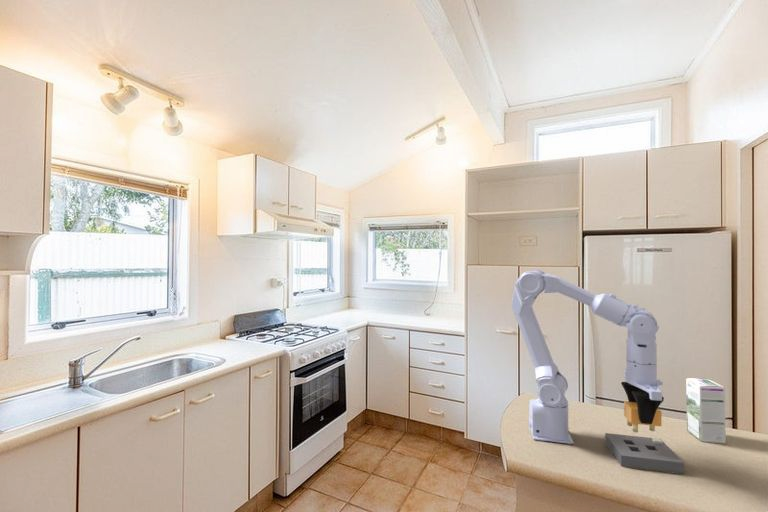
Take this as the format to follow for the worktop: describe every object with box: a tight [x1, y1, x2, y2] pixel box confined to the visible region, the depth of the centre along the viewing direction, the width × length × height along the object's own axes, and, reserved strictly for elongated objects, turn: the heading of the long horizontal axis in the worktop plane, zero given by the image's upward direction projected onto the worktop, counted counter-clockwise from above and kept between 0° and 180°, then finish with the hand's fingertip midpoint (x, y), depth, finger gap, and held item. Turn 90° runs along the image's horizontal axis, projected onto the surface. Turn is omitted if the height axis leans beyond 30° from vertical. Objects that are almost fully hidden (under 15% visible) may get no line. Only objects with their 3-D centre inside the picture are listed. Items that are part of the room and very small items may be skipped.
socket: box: [604, 432, 685, 475], centre depth 82 cm, size 12×10×3 cm
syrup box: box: [685, 377, 727, 444], centre depth 91 cm, size 6×6×14 cm
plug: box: [623, 400, 662, 433], centre depth 82 cm, size 6×4×6 cm, turn 75°
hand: (641, 418), depth 82 cm, fingers closed on plug, 4 cm apart
